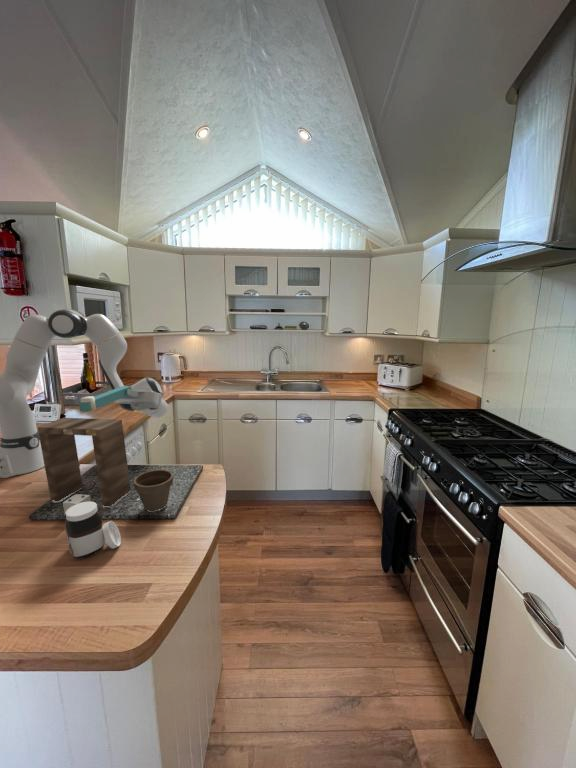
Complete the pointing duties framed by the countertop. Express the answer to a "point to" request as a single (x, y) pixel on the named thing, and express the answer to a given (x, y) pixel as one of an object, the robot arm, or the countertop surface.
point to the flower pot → (154, 488)
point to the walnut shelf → (64, 457)
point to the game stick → (102, 399)
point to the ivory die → (75, 501)
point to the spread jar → (89, 531)
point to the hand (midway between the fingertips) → (120, 391)
